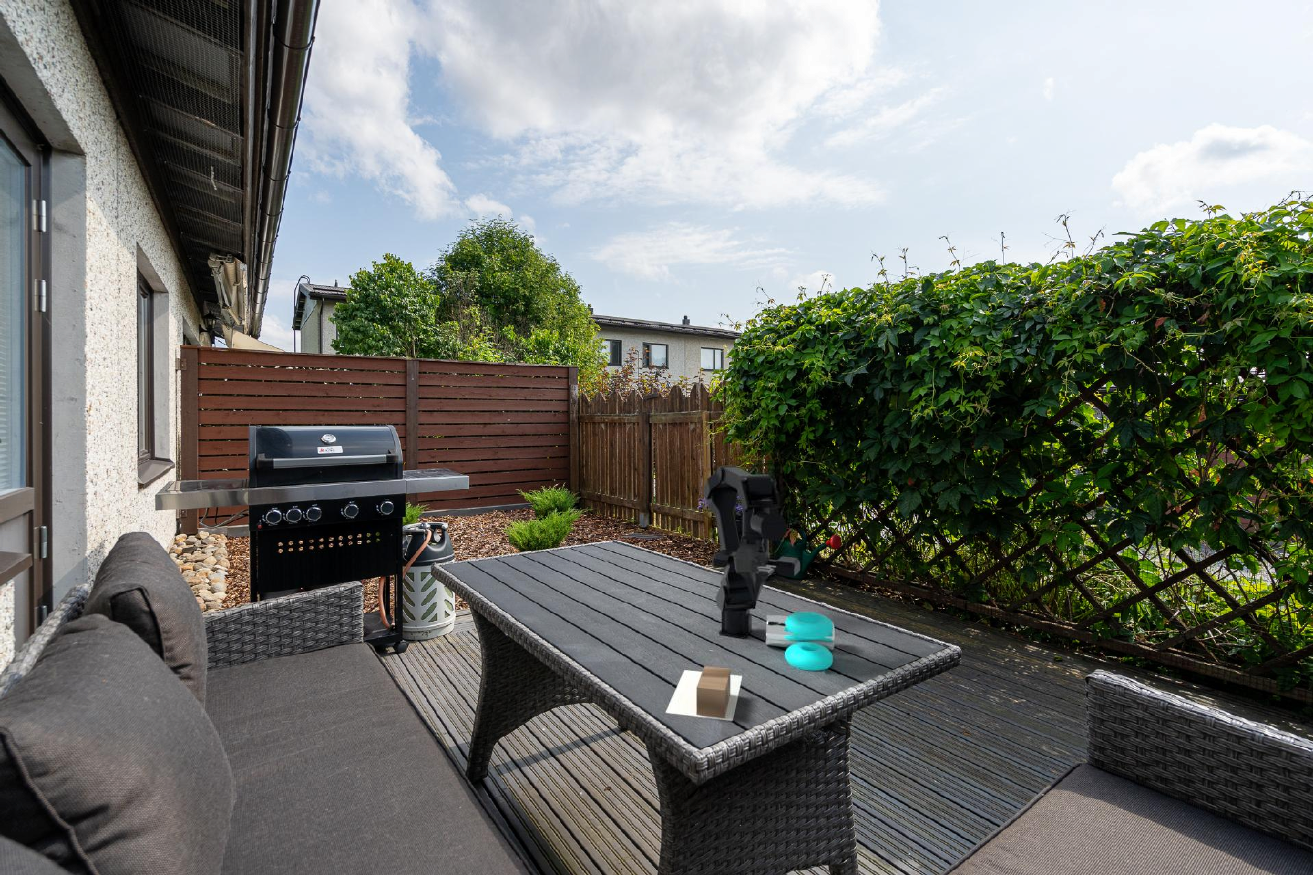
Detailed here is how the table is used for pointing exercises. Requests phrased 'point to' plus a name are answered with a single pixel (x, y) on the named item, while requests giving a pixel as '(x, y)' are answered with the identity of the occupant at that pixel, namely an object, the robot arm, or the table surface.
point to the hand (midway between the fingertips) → (755, 600)
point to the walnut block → (713, 692)
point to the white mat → (686, 696)
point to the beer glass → (790, 634)
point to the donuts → (807, 652)
